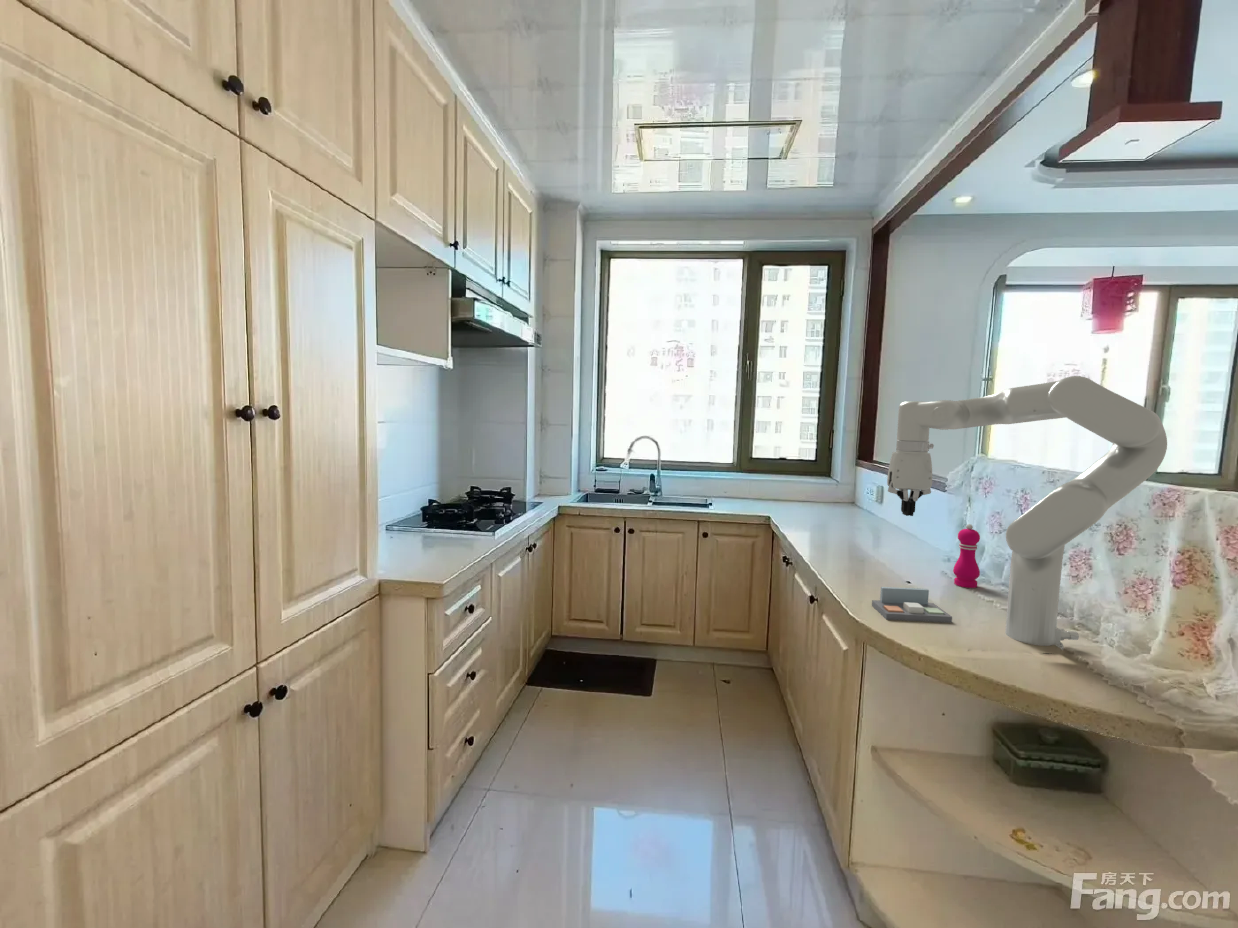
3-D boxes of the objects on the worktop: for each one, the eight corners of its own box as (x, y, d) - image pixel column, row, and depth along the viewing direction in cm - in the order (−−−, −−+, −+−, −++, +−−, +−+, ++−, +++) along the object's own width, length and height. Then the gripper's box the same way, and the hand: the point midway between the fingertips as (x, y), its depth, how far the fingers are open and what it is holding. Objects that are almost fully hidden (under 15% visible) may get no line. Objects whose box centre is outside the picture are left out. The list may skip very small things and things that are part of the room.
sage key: (936, 618, 144) (937, 607, 143) (943, 624, 140) (944, 612, 140) (922, 618, 144) (923, 607, 144) (928, 623, 141) (929, 612, 140)
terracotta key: (897, 616, 145) (897, 606, 145) (902, 621, 141) (903, 610, 141) (883, 616, 145) (883, 605, 145) (888, 621, 142) (888, 610, 141)
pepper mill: (983, 589, 171) (987, 526, 169) (957, 587, 172) (961, 525, 171) (973, 582, 178) (977, 522, 176) (948, 581, 179) (952, 521, 178)
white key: (917, 613, 144) (917, 602, 144) (923, 618, 141) (923, 607, 140) (902, 613, 145) (903, 602, 144) (908, 618, 141) (909, 606, 141)
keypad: (932, 613, 149) (933, 588, 148) (951, 628, 138) (953, 601, 138) (871, 610, 150) (872, 586, 150) (885, 624, 140) (887, 598, 139)
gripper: (934, 447, 149) (930, 513, 150) (877, 446, 150) (874, 511, 152) (948, 449, 141) (943, 518, 143) (888, 447, 143) (884, 516, 144)
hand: (907, 514), depth 147 cm, fingers closed
